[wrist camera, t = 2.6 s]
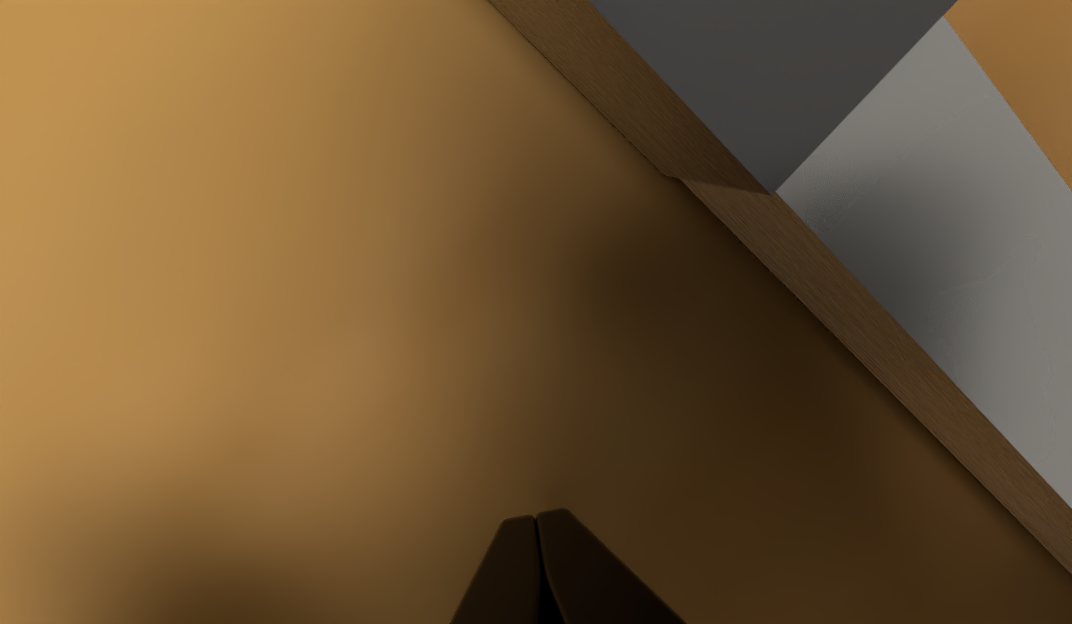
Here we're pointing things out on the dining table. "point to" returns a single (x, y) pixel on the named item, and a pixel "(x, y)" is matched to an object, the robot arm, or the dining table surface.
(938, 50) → the tong leg
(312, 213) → the dining table surface
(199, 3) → the dining table surface
